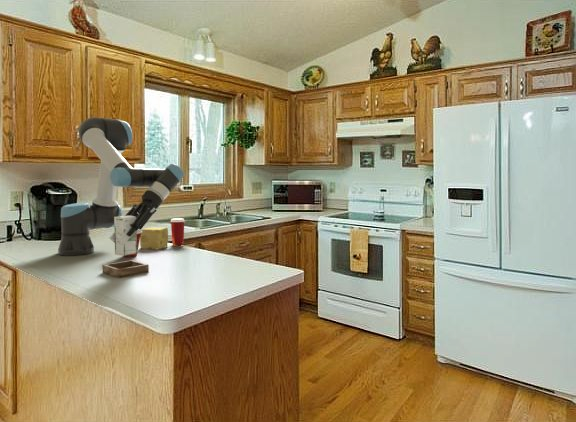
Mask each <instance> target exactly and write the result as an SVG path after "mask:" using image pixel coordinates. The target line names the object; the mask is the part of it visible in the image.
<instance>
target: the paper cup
mask: <svg viewBox="0 0 576 422" xmlns="http://www.w3.org/2000/svg"><path fill="white" fill-rule="evenodd" d="M185 222H186V221H185V218H180V217H179V218H177V217H176V218H175V217H174V218H171V219H170V229H171V242H172V246H175V247H176V246H177V247H178V246H183V245H184V240H185V239H184V237H185Z"/></svg>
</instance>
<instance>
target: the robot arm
mask: <svg viewBox="0 0 576 422" xmlns="http://www.w3.org/2000/svg"><path fill="white" fill-rule="evenodd" d="M78 137H79V139H80V141H81V142H82V143H83V144H84V146H85V147H88V148H90V149H91V150H92V151H93V153H94V154H95V155H96V156H97V157H98V159H99V160H100V166H99V172H98V173H99V174H98V182H97V188H96V189H97V190H96V191H97V192H96V197H95V198H94V199H92V204H91V205H90V204H89V203H88V202H76V203H71V204H70V203H69V204H66V205H65V204H64V205H62V207H61V208H60V223H61V239H60V242H59V246H58V248H57V255H60V256H70V257H71V256H81V255H89V254H92V253H93V254H94V252H95V246H94V244H93V241H92V239H91V238H92V237H91V236H90V230H101V229H110V228H115V227H114V217H118V216H123V212H122V207H121V206H120V205H119V202H118V201H117V199H116V198H117V191H118V188H120V187H121V188H128V187H129V188H131V187H132V188H133V187H134V188H135V187H140V188H141V187H146V188H147V187H148V189H147V190H145V192H144V193H143V194H142V196H141V200H142V201H141V202H140V203H139V204H138V205H137V204H136V203H135V204H133V206H132V207H131V209H129V210H128V212H127V213H126V214H125V215H124V216H135V217H136V219H135V221H134V223H133V224H130V226H129V227H128V229H127V230H126V231H125V232H124V233H123V234H122V236H121V237H120V238H119V239H118V241H120V242H121V243H122V244H123V245H124V244H125V243H126V242H127V241H128V239H129V238H130V237H131V236H132V235H133V233H134V232H135V231H137V230H141V229H144V228H143V227H144V226H145V225H146V224H147V223H148V221H149V220H150V219H151V217H152V216H153V215H154V214H155V213H156V212H157V209H159V208H160V206H161V205H162V203H163V201H165V199H167V198H168V196H169V195H170V194H171V192H173V190H175V188H176V187H177V186H178V185H179V183H180V182H181V180H182V179H183V178H184V176H185V172H184V170H183V169H182V168H181V167H180V166H179V165H178V164H175V163H170V164H169V165H168V166H166V167H165V168H161V169H160V168H150V167H149V168H148V167H147V168H146V167H145V168H142V167H141V168H140V167H132V166H131V165H130V164H129V163H128V162H127V160H126V159H125V158H124V157H123V156H122V155H123V154H122V153H123V152H125V151H126V147H127V146H129V145H131V144H132V142H133V131H132V128H131V126H130V124H129V123H128V122H127V121H124V120H122V119H121V120H120V119H118V118H117V119H114V118H106V117H105V118H104V117H98V116H93V117H88V118H86V119H84V120H83V121H82V122H81V123H80V125H79V127H78ZM108 238H109V240H110V241H112V242H113V243H114V244H115V231H114V232H112V234H111V235H110V237H108Z"/></svg>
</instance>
